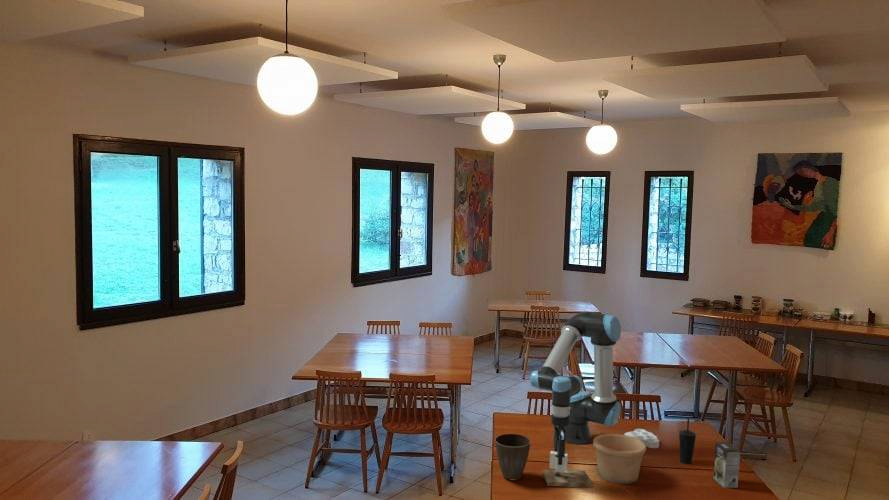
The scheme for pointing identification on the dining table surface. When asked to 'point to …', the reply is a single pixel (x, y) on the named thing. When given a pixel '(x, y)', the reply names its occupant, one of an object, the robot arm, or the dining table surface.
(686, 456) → the drinking cup
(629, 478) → the pottery
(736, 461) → the coffee box
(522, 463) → the plant pot
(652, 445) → the knuckle duster
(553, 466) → the white slab
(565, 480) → the brown flat rectangular block
